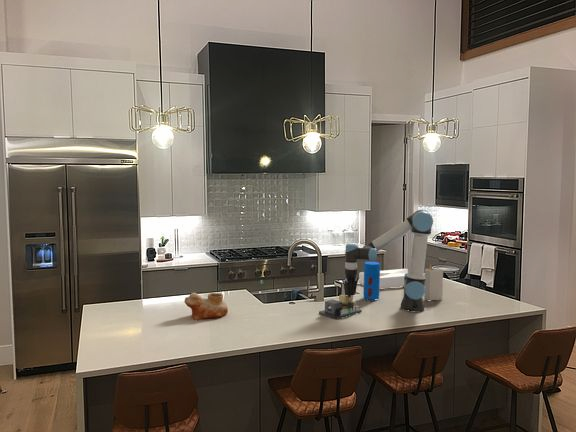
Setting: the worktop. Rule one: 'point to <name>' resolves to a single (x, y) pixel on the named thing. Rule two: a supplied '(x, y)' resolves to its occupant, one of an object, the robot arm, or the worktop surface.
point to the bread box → (388, 278)
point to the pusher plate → (344, 301)
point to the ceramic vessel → (206, 306)
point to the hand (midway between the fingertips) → (350, 305)
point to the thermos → (371, 280)
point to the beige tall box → (433, 284)
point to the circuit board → (338, 310)
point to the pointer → (351, 305)
